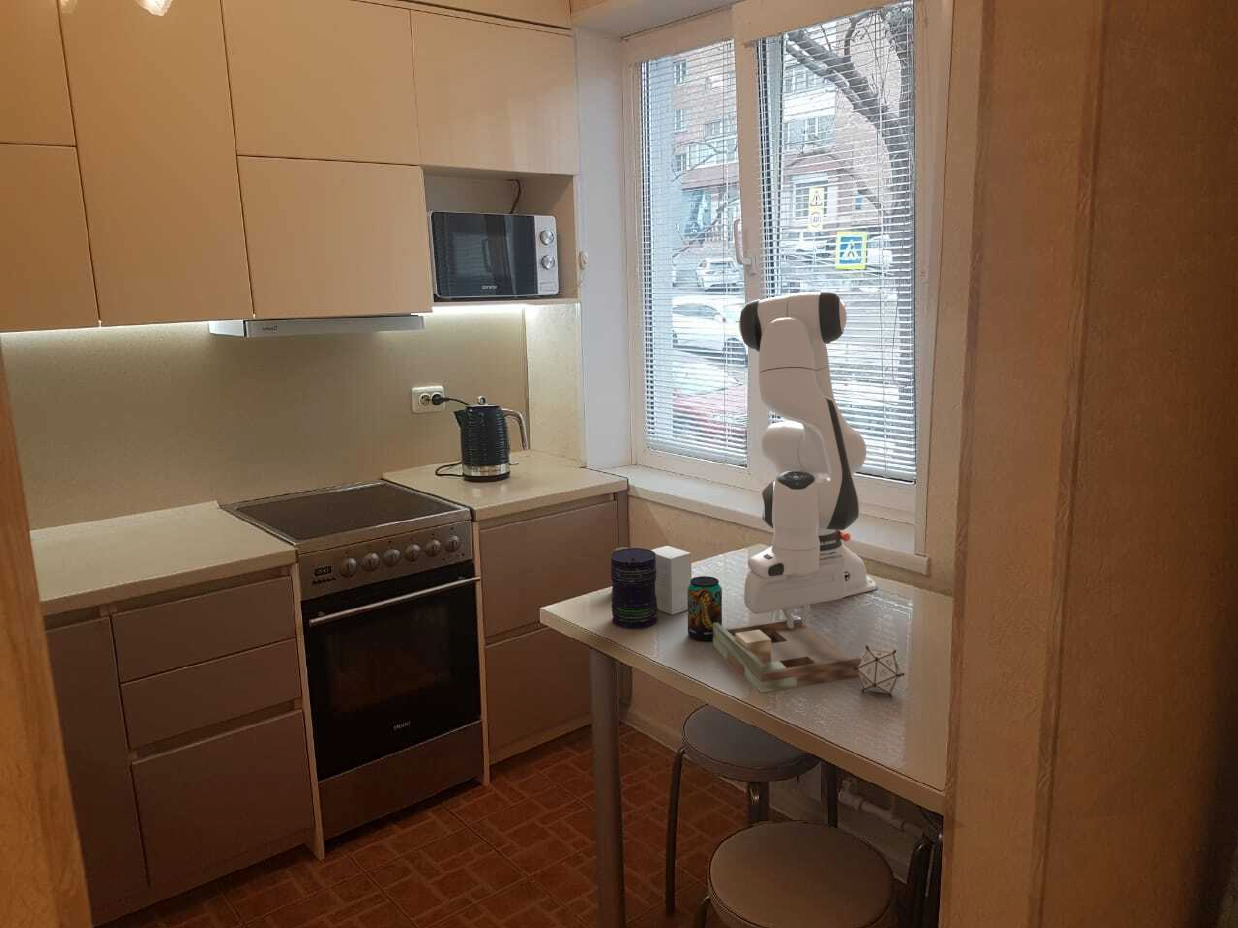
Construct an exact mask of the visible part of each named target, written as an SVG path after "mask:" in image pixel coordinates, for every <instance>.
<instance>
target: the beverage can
mask: <svg viewBox="0 0 1238 928" xmlns="http://www.w3.org/2000/svg"><path fill="white" fill-rule="evenodd" d="M690 582H691V584H690V585H689V587H688V589H687V601H688V609H687V633H688V635H689V636H690V638H691V639H692V640H695V641H698V642H713V623H715V622H718V623H719V624H720V625H721V626H722V627H723V589H722V586H721V585H720V583H719V579H718V578H716V577H714V576H707V575H706V576H705V575H704V576H696V577H693V578H692V579H691V581H690Z"/></svg>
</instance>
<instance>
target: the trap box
mask: <svg viewBox="0 0 1238 928" xmlns="http://www.w3.org/2000/svg"><path fill="white" fill-rule="evenodd" d="M753 630H760V631H762V632H763V633H764V634H765V635H767V636H768V637H769V638H770V639H771V659H768V660H762V661H760V660H759V659H758V658H757V657H756V656H755V655H754V654H753V653H752V652H750V651H749V650H748V649H747V648H746V647H745V646H744V645H743V644H741V643H740V642H739V641H738V640H737V639H736V638H735V633H740V632H746V631H753ZM712 647H713V648H715V650H716V651H717V652H718V653H719V654H720V655H722V657H723V658H725V659H726V660H727V661H728V662H729V663H730V664H731V665H732V666H733V667H734V668H735V669H736V670H737V671H738V672H739V673H740V674H741V675H742V676H743V677H744V678H745V679H746V680H747V681H748V682H749V683H750V684H752V686H753V687H755V688H756V690H758V692H760V694H763V693H768V692H775V691H781V690H785V689H791V688H798V687H803V686H809V685H814V684H815V685H816V684H821V683H826V682H833V681H838V680H839V681H840V680H845V679H849V678H850V679H851V678H857V677H859V675H858V672H857V670H853V669H852V668H853V667H856V668H857V666H858V665H859V663H860V662H861V660H862V658H861V657H859V656H851V657H849V656H848V655H846V654H845V653H844V652H842V651H841V650H839V648H837V647H835V645H833V644H831V643H830V642H829V641H827V640H826V639H825V638H823V637H822V636H820V635H819V634H818V633H816V632H815V631H813V629H811V628H810V627H808V626H807V625H805V626H802V627H796V628H791V629H790V628H789V627H788V626H787V618H785V619H777V620H770V621H764V622H757V623H752V624H751V623H750V624H744V625H738V626H729V627H724V626H723V625H722V626H721V625H720V624H719V623H718V622H715V623H713V641H712Z"/></svg>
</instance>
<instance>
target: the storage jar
mask: <svg viewBox="0 0 1238 928" xmlns="http://www.w3.org/2000/svg"><path fill="white" fill-rule="evenodd" d="M626 548H627V549H621V550H617V551H615V552H613V551H612V553H611V554H610V574H611V575H610V579H611V582H612V586H613V596H612V595H611V596H612V597H611V612H612V624H613V625H614V626H616V627H618V628H620V629H623V630H624V629H625V630H643V629H644V630H645V629H647V628H650V627H653V626H655V625H656V624H657V623H658V617H657V614H658V609H657V597H656V595H655V581H656V577H657V575H656V571H657V568H656V560H655V559H656V553H655V552H653V551H651V550H652V549H647V548H639V547H637V548H636V547H632V548H630V547H626Z"/></svg>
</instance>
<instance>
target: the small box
mask: <svg viewBox="0 0 1238 928" xmlns="http://www.w3.org/2000/svg"><path fill="white" fill-rule="evenodd" d="M650 550H651V551H653V552H655V553H656V559H655V560H656V568H657V571H656V575H657V577H656V581H655V595H656V597H657V610H659V611H661V612H664V613H666V614H669V615H671V616H673V615H675V614H679V613H681V612H684V611H686V610H687V611H688V601H687V589H688V587H689V585H690V584H691V582H690V581H691V579H693V578H692V577H693V576H692V552H690V551H689V552H688V551H686V550H683V549H679V548H676V547H673V546H669V545H665V546H661V547H657V548H653V549H650Z"/></svg>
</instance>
